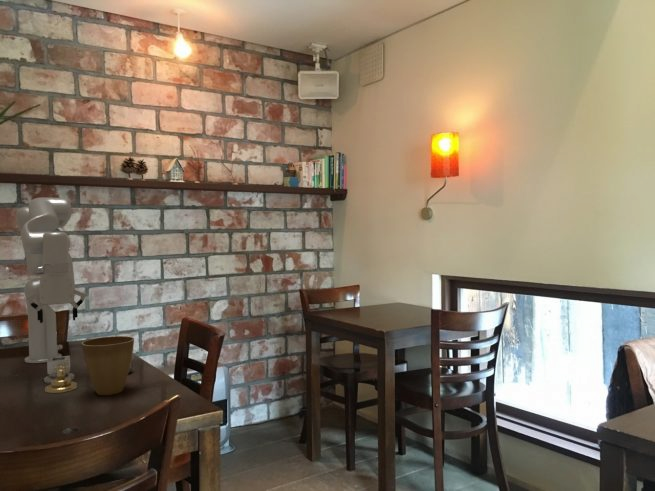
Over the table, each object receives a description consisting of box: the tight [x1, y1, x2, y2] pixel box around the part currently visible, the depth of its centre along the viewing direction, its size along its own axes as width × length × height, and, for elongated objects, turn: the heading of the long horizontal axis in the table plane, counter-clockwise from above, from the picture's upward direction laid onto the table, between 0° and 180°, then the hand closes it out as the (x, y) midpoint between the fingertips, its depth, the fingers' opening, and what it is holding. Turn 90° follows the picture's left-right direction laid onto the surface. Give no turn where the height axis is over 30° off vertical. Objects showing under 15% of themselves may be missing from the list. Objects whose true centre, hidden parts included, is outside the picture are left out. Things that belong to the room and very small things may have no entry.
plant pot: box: [81, 335, 135, 396], centre depth 162 cm, size 15×15×16 cm
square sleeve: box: [46, 355, 71, 375], centre depth 177 cm, size 6×6×4 cm
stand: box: [43, 372, 75, 384], centre depth 177 cm, size 9×9×6 cm
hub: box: [44, 368, 78, 394], centre depth 166 cm, size 9×9×6 cm
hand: (58, 321), depth 175 cm, fingers open, 9 cm apart
